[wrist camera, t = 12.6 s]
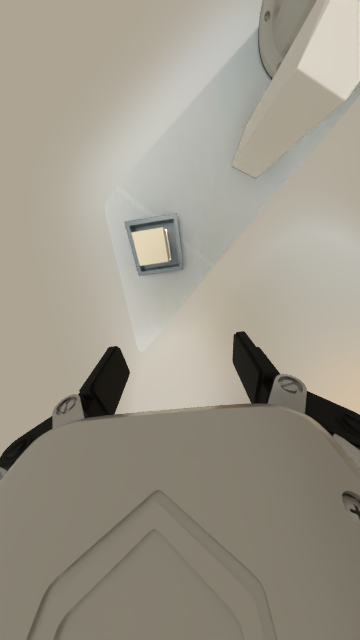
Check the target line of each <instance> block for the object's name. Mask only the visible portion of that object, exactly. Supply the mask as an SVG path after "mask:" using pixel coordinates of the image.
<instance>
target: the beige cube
mask: <svg viewBox="0 0 360 640" xmlns="http://www.w3.org/2000/svg"><path fill="white" fill-rule="evenodd" d="M131 233H132V237H133V241H134V245H135V249H136V253H137V257H138V261H139V265H140V266H143V265H149V264H156V263H163V262H168V261H169V260H170V254H169V248H168V242H167V235H166V230H165V229H164V228H163V227H161V228H155V229H149V230H143V231H137V232H131Z"/></svg>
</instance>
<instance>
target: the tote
mask: <svg viewBox="0 0 360 640" xmlns="http://www.w3.org/2000/svg"><path fill="white" fill-rule="evenodd" d="M125 226H126V230H127V233H128V237H129V241H130V245H131V248H132V252H133V256H134V260H135V263H136V267H137V271H138V275H139V276H140V275H147V274H154V273H161V272H168V271H175V270H181V269H183V262H182V253H181V245H180V236H179V228H178V220H177V213H174V214H168V215H162V216H156V217H150V218H144V219H138V220H132V221H126V222H125ZM161 227H163V228H164V229H167V230H168V233H169V240H170V246H171V253H172V259H171V260H169V261H168V262H163V263H156V264H149V265H143V266H140V265H139V261H138V257H137V253H136V249H135V245H134V241H133V237H132V233H131V232H137V231H143V230H149V229H155V228H161Z"/></svg>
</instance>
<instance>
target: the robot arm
mask: <svg viewBox="0 0 360 640" xmlns="http://www.w3.org/2000/svg"><path fill="white" fill-rule="evenodd" d="M316 1H317V0H263V2H262V8H261V12H260V21H259V47H260V54H261V58H262V61H263V64H264V67H265V69H266V71H267V72H268V74H269V75H270V76H271V77H272V78H273V77H274V76H275V74H276V72H277V70H278V68H279V67H280V65H281V63H282V61H283V60H284V58H285V56H286V54H287V52H288V51H289V49H290V47H291V45H292V44H293V42H294V40H295V38H296V37H297V35H298V33H299V31H300V29H301V28H302V26H303V24H304V22H305V21H306V19H307V17H308V15H309V14H310V12H311V10H312V8H313V6H314V5H315V3H316ZM233 364H234V366H235V369H236V371H237V373H238V375H239V377H240V379H241V382H242V384H243V386H244V388H245V390H246V393H247V395H248V397H249V399H250V401H251V403H252V404H234V405H220V406H207V407H196V408H183V409H171V410H160V411H148V412H137V413H127V414H116V415H114V414H115V411H116V408H117V406H118V403H119V401H120V398H121V395H122V393H123V390H124V388H125V385H126V382H127V380H128V377H129V373H130V372H129V369H128V366H127V364H126V361H125V359H124V357H123V354H122V352H121V350H120V348H118V347H117V346H114V347H109V348H108V349H107V351H106V352H105V354H104V355H103V357H102V358H101V360H100V361H99V363H98V364H97V365H96V367H95V368H94V370H93V371H92V373H91V374H90V376H89V377H88V379H87V380H86V382H85V383H84V384H83V386H82V387H81V389H80V393H79V394H78V395H77V394H74V395H70V396H68V397H66V398H64V399H63V400H62V401H60V403H58V404H57V406H56V407H55V408H54V410H53V416H51V417H50V418H48V419H47V420H45V421H44V422H42V423H41V424H39V425H38V426H36V427H35V428H33V429H32V430H30V431H29V432H27V433H26V434H24V435H23V436H21V437H20V438H18V439H17V440H16V441H14V442H13V443H12V444H11V445H10V446H9V447H8V448H7V449H6V450H5V451H4V452H3V454H2V456H1V457H0V640H360V415H359V414H357V413H355V412H353V411H351V410H349V409H347V408H344V407H342V406H340V405H337V404H335V403H333V402H331V401H328V400H326V399H324V398H322V397H319V396H317V395H315V394H313V393H310V392H308V391H307V389H306V387H305V385H304V384H303V383H302V382H301V381H300V380H299V379H297V378H295V377H293V376H291V375H287V374H280V373H279V372H278V370H277V369H276V368H275V367H274V365H273V364H272V363H271V362H270V360H269V359H268V358H267V356H266V355H265V354H264V353H263V351H262V350H261V349H260V348H259V347H256V346H255V345H254V343H253V342H252V341H251V340H250V338H249V337H248V336H247V334H246V333H245V332H237V333H236V334H234V343H233Z"/></svg>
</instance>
